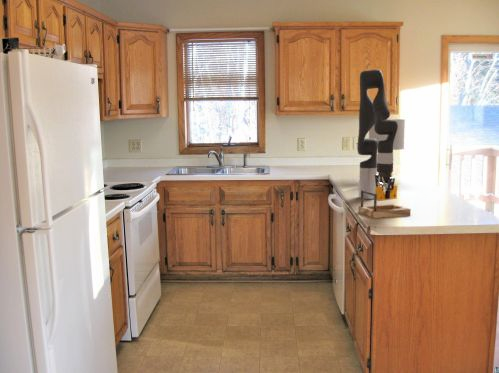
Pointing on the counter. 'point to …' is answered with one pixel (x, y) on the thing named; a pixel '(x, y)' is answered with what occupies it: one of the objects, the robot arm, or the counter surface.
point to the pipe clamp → (382, 194)
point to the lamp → (399, 136)
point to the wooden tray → (382, 208)
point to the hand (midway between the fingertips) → (384, 197)
